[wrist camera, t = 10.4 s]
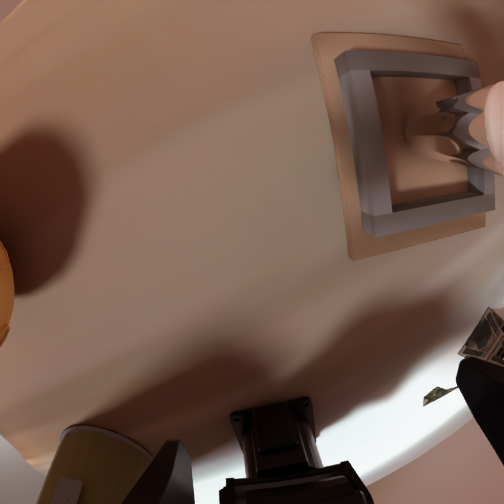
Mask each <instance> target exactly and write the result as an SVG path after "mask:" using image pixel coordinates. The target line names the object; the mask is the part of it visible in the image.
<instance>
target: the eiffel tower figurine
mask: <svg viewBox="0 0 504 504" xmlns="http://www.w3.org/2000/svg"><path fill="white" fill-rule="evenodd" d="M458 354H459V355H461V356H463V357H464V358H467V357H469V356H473V357H476V358H479V359H482V360H485V361H488V362H491V363H495V364H498V365H501V366H504V360H503V359H504V320H503V319H502V318H500V317H499V316H498V315H497V314H496V313H495V312H494V311H493V310H492V309H491V308H489V307H488V309H487V310H486V312H485V313H484V315H483V317H482V318H481V320H480V321H479V323H478V325H477V326H476V328H475V329H474V331H473V332H472V334H471V335H470V337H469V338H468V340H467V341H466V343H465V344H464V345H463V347H462V348H461V350H460V351H459V353H458ZM456 388H458V386H457V387H454V388H450V389H447V390H446V389H443V388H440V387H436V388H434V389H433V390H432V391H431V392H430V393H428V394H427V395H426V396H425V397H424V402H423V406H425V405H427V404H429V403H431V402H433V401H435V400H437V399H439V398H440V397H442V396H444V395H446V394H448V393H449V392H451V391H453V390H455V389H456Z"/></svg>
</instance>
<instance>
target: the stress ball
mask: <svg viewBox="0 0 504 504" xmlns="http://www.w3.org/2000/svg"><path fill="white" fill-rule="evenodd" d="M13 304H14V279H13V272H12V268H11V264H10V261H9V257H8V253H7V251H6V249H5V248H4V246H3V244H2V242H1V241H0V347H1V346H2V344H3V342H4V341H5V339H6V337H7V335H8V332H9V330H10V327H9V322H10V319H11V315H12V311H13Z"/></svg>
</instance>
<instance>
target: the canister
mask: <svg viewBox="0 0 504 504" xmlns="http://www.w3.org/2000/svg"><path fill="white" fill-rule="evenodd" d="M152 459H153V457H152V456H151V455H150V454H149V453H148V452H147V451H146V450H145V449H144V448H143V447H141V446H140V445H138V444H136V443H135V442H133V441H132V440H130V439H129V438H127V437H124V436H122V435H120V434H117V433H115V432H112V431H109V430H107V429H103V428H99V427H94V426H73V427H70V428H67V429H66V430H64V431H63V432H62V434H61V437H60V445H59V447H58V450H57V452H56V454H55V457H54V459H53V462H52V464H51V467H50V469H49V471H48V474H47V477H46V479H45V482H44V484H43V487H42V490H41V492H40V495H39V498H38V500H37V503H36V504H120V503H121V502H122V501H123V499H124V498H125V497H126V495H127V494H128V493H129V491H130V490H131V488H132V487H133V486H134V484H135V483H136V482H137V480H138V479H139V477H140V476H141V475H142V473H143V472H144V471H145V469H146V468H147V466H148V465H149V464H150V462H151V461H152Z"/></svg>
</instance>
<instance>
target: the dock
mask: <svg viewBox="0 0 504 504" xmlns="http://www.w3.org/2000/svg"><path fill="white" fill-rule="evenodd" d="M311 41H312V45H313V49H314V53H315V57H316V61H317V65H318V69H319V74H320V78H321V83H322V87H323V92H324V96H325V101H326V106H327V111H328V116H329V121H330V126H331V132H332V137H333V143H334V149H335V155H336V161H337V167H338V174H339V180H340V187H341V194H342V202H343V210H344V218H345V227H346V236H347V245H348V256H349V257H350V258H351V259H352V260H353V261H354V260H358V259H362V258H366V257H370V256H375V255H379V254H383V253H387V252H391V251H395V250H399V249H403V248H407V247H410V246H414V245H418V244H422V243H426V242H430V241H434V240H437V239H441V238H445V237H449V236H453V235H456V234H460V233H464V232H467V231H471V230H475V229H478V228H482V227H485V212H487V211H492V210H495V185H494V173H491V172H487V171H484V170H481V169H477V168H473V167H469V166H464V165H460V164H455V163H451V162H446V161H441V160H436V159H431V158H426V157H423V156H421V155H419V154H418V153H416V152H414V151H413V150H411V148H410V146H409V144H408V142H407V140H406V138H405V136H404V120H405V119H406V117H407V116H408V114H409V113H410V111H411V110H412V109H414V108H417V107H420V106H423V105H427V104H430V103H433V102H436V101H440V100H443V99H446V98H450V97H453V96H457V95H460V94H463V93H466V92H469V91H472V90H475V89H478V88H481V87H482V83H481V79H480V74H479V70H478V66H477V63H476V62H471V61H466V59H465V55H464V51H463V48H462V46H461V45H456V44H451V43H445V42H440V41H434V40H427V39H420V38H412V37H403V36H393V35H380V34H361V33H314V34H313V36H312V37H311Z"/></svg>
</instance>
